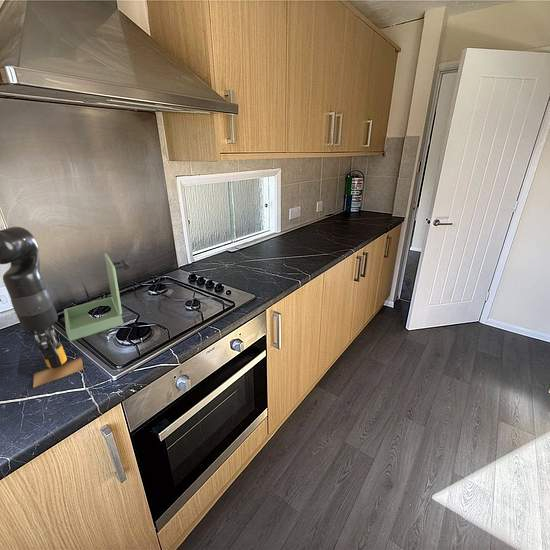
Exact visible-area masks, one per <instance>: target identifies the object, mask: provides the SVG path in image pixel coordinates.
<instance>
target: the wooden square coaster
mask: <svg viewBox="0 0 550 550" xmlns="http://www.w3.org/2000/svg"><path fill="white" fill-rule="evenodd" d="M81 371H84V363H83V358H82V356H80V357H77V358H74V359H71V360H69V361H66V362H65V363H63V364H62V365H61V366H60V367H57V368H54V369H53V368H50V367H47V368H45V369H42V370H39V371H36V372H34V373H33V381H32V382H33V384H32V388H37V387H40V386H42V385H45V384H48V383H50V382H54V381H56V380H59V379H62V378H64V377H68V376H70V375H72V374H75V373H78V372H81Z"/></svg>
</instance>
